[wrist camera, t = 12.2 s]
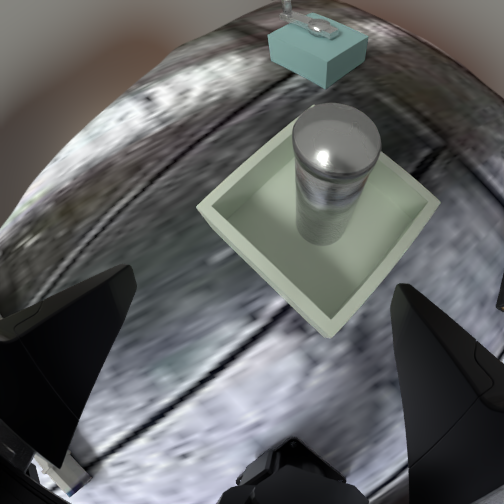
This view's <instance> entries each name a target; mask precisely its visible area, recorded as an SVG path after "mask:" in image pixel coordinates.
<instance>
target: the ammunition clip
mask: <svg viewBox="0 0 504 504" xmlns="http://www.w3.org/2000/svg"><path fill="white" fill-rule="evenodd" d="M496 308H497V309H499V310H501V311H502V312H504V274H503V279H502V283H501V288H500V292H499V296H498V300H497V304H496Z"/></svg>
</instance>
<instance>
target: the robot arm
mask: <svg viewBox="0 0 504 504" xmlns="http://www.w3.org/2000/svg"><path fill="white" fill-rule="evenodd" d="M136 289H137V284H136V280H135V276H134V273H133V269H132V267H131V266H130V265H126V264H119V265H117V266H115V267H113V268H110V269H108V270H106V271H104V272H102V273H99V274H97V275H95V276H93V277H91V278H89V279H86V280H84V281H82V282H80V283H78V284H76V285H74V286H72V287H69V288H67V289H65V290H63V291H61V292H59V293H57V294H55V295H53V296H51V297H49V298H47V299H44V301H40V302H38V303H36V304H34V305H32V306H30V307H28V308H26V309H24V310H21V311H19V312H17V313H15V314H12V315H10V316H8V317H6V318H3V319H1V320H0V504H71V503H69V502H68V501H66V500H64V499H63V498H61V497H59V496H58V495H56V494H54V493H53V492H51V491H50V490H48V489H47V488H45V487H44V486H42V485H41V484H40V481H39V477H38V474H37V470H36V466H35V465H34V464H32V463H31V461H32V460H33V458H34V456H35V454H36V455H37V456H39V457H40V458H42V459H43V460H45V461H46V462H48V463H50V464H51V465H53V466H54V467H56V468H58V469H61V467H62V465H63V462H64V459H65V456H66V453H67V451H68V448H69V445H70V443H71V440H72V437H73V435H74V432H75V430H76V427H77V425H78V422H79V420H78V419H80V417H81V414H82V412H83V410H84V407H85V405H86V403H87V400H88V398H89V396H90V393H91V391H92V389H93V386H94V384H95V382H96V380H97V377H98V375H99V373H100V371H101V369H102V367H103V364H104V362H105V360H106V358H107V356H108V354H109V352H110V350H111V347H112V345H113V343H114V341H115V339H116V337H117V335H118V333H119V331H120V329H121V327H122V325H123V323H124V320H125V318H126V315H127V313H128V310H129V307H130V305H131V302H132V300H133V297H134V295H135V292H136ZM390 312H391V322H392V333H393V346H394V354H395V359H396V365H397V371H398V377H399V383H400V390H401V397H402V404H403V412H404V420H405V429H406V440H407V452H408V468H409V504H504V364H503V363H502V362H501V361H500V360H498V359H497V358H496V357H495V356H494V355H493V354H491V353H490V352H489V351H488V350H487V349H486V348H485V347H483V346H482V345H481V344H480V343H479V342H478V341H476V339H475V338H473V337H472V336H471V335H470V334H469V333H468V332H467V331H465V330H464V329H463V328H462V327H461V326H460V325H459V324H457V323H456V322H455V321H454V320H453V319H452V318H450V317H449V316H448V315H447V314H446V313H444V312H443V311H442V310H441V309H440V308H439V307H437V306H436V305H435V304H434V303H432V302H431V301H430V300H429V299H428V298H426V297H425V296H424V295H423V294H421V293H420V292H419V291H418V290H416V289H415V288H414V287H413V286H411V285H410V284H404V283H399V284H397V286H396V288H395V291H394V295H393V298H392V302H391V306H390ZM292 441H295V442H296V445H291V444H290V443H291V442H292ZM240 480H241V482H240ZM339 480H343V481H342V482H339ZM236 484H237V485H238V486H235V487H231V488H230V489H228V490H227V491H225V492H224V493H223V494H222V496H221V497H220V499H219V500H218V502H217V503H216V504H368V503H369V500H368V499H367V498H366V497H365V496H364V495H363V494H362V493H361V492H360V491H359V490H358V489H357V488H356V487H355V486H353V485H350V484H346V478H345V477H344V476H343V475H342V474H340V473H339V472H338V471H337V470H335V469H334V468H333V467H332V466H330V465H329V464H328V463H327V462H325V461H324V460H323V459H322V458H321V457H319V456H318V455H317V454H316V453H315V452H313V451H312V450H311V449H310V448H309V447H308V446H306V445H305V444H304V443H303V442H302V441H301V440H299V439H298V438H297V437H291V438H289V439H288V440H287V441H285V442H284V443H283V444H282V445H280V446H279V447H278V448H277V449H275V450H268V451H267V452H265V453H264V454H263V455H261V456H260V457H259V458H257V459H256V460H255V461H253V462H252V463H251V464H249V465H248V466H247V467H246V470H245V472H244V473H243V474H242V475H240V476H239V477H238V478H237V480H236Z"/></svg>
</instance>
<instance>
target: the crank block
mask: <svg viewBox="0 0 504 504" xmlns="http://www.w3.org/2000/svg"><path fill="white" fill-rule="evenodd" d="M306 16H308V17H311V18H313V19H324V20H327V21H328V22H330V25H331V26H333V27H335V28H338V29H339V35H337V36H335V37H333V38H331V39H328V38H326V37H316V36H313V35H311V34H310V33H309V32H308V30H307V29H305V28H302V27H300V26H297V25H294V24H292V23H290V24H288V25H286V26H284V27H282V28H280V29H278V30H276V31H274V32H272V33H271V34H269V35H268V41H269V48H270V56H271V61H273V62H275V63H277V64H279V65H281V66H283V67H285V68H287V69H289V70H291V71H293V72H295V73H297V74H299V75H301V76H302V77H304V78H306V79H308V80H310V81H312V82H313V83H315V84H317V85H319V86H320V87H322V88H324V89H327V88H328V87H329V86H331V85H332V84H333V83H335V82H336V81H338V80H339V79H340V78H342V77H343V76H344V75H346V74H347V73H349V72H350V71H351V70H353V69H354V68H356V67H357V66H358V65H360V64H361V63H363V62H364V61H365V56H366V49H367V43H368V37H369V36H367V35H364V34H362V33H360V32H358V31H356V30H354V29H352V28H350V27H347V26H345V25H343V24H340V23H338V22H336V21H333V20H331V19H328V18H326V17H323V16H321V15H318V14H315V13H313V12H312V13H310V14H308V15H306Z"/></svg>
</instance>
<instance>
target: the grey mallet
mask: <svg viewBox="0 0 504 504" xmlns="http://www.w3.org/2000/svg"><path fill="white" fill-rule="evenodd" d="M1 319H3V318H2V316H1V314H0V320H1ZM71 453H72V452H71V451H70V450H68V451H67V453H66V456H65V459H64V462H63V465H62V467H61V469H58V468H56V467H54V466H53V465H51V464H50V463H48V462H46V461H45V460H43V459H42V458H40V457H39V456H37V455H36V454H35V456H34V458H35V459H36V461H37V462H38V463H39V465H40V466H41V467H42V468H43V470H42V471H41V472H42V473H43V474H48V475H49V476H50V478H51V479H52V480H53V481H54V482H55V483H56V484H57V485H58V486H59V487H60V488H61V489H62V490H63V491H64V492H65V493H66V494H67V495H68V496H69V497H71V496H72V495H73V494H75V493H76V492H77V491H78V490H79V489H81V488H82V487H83V486H84V485H85V484H87V483H88V482H89V481H90V480H91V479H92V477H91V476H90V475H89V474H88V473H87V472H86V471H85V470H84V469H83V468H82V467H81V466H80V465H79V464H78V463H77V462H76V461H75V460H74V458H73V457H72V456H71V455H70V454H71Z"/></svg>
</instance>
